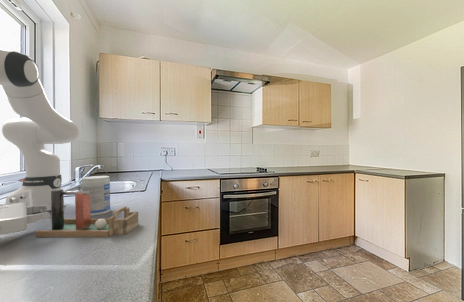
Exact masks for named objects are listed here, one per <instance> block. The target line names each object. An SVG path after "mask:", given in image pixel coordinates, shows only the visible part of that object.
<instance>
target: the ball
mask: <svg viewBox="0 0 464 302" xmlns="http://www.w3.org/2000/svg"><path fill="white" fill-rule="evenodd" d="M97 219H98V220H97V221H96V222H95V227H96V228H97V229H103V228H105V227H106V225H107V222H106V220H105V219H103V218H97Z"/></svg>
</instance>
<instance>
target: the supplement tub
mask: <svg viewBox="0 0 464 302" xmlns="http://www.w3.org/2000/svg"><path fill="white" fill-rule="evenodd" d="M110 179H111V178H110V176H109V175H95V176H92V175H91V176H85V177H82V178H81V184H80V185H81V191H90V217H93V216H99V215H104V214H107V213H109V212H111V183H110V182H111V180H110Z"/></svg>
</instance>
